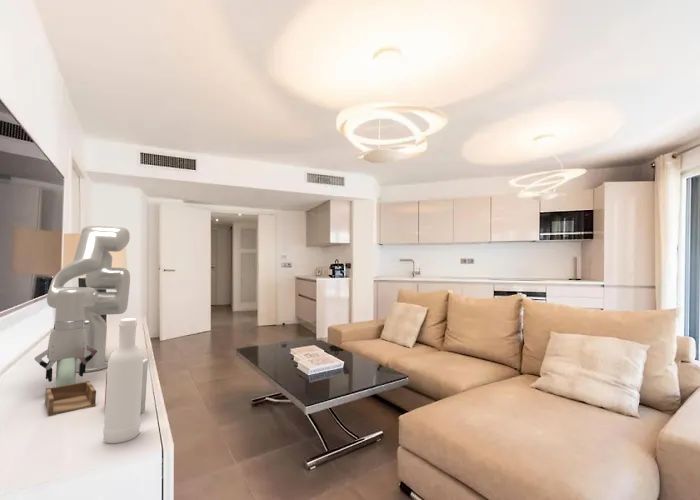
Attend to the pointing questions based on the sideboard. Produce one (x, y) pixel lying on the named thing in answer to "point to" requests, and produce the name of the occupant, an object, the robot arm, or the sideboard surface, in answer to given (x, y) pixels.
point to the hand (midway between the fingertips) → (65, 377)
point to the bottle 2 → (124, 387)
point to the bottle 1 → (66, 372)
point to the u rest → (69, 398)
